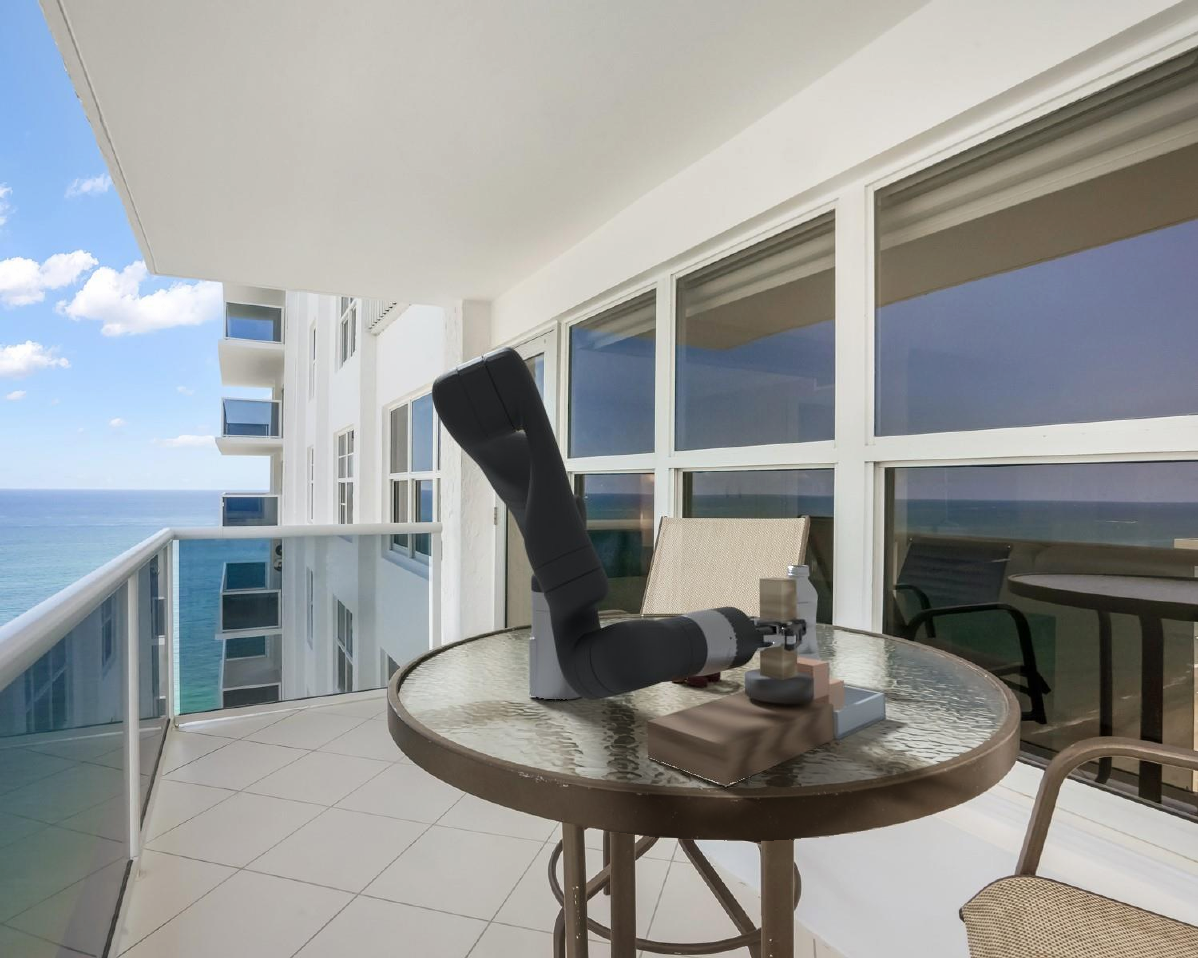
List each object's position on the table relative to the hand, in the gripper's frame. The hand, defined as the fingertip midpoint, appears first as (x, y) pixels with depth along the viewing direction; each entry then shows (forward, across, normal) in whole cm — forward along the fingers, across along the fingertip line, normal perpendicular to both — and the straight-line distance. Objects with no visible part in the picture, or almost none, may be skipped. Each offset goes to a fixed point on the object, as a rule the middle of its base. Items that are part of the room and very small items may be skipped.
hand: (789, 624), depth 92 cm
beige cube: (+6, 0, +11) cm, 12 cm away
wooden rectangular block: (-11, 0, +14) cm, 18 cm away
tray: (+7, 0, +14) cm, 16 cm away
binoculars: (+11, +26, +14) cm, 31 cm away
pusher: (-3, 0, +9) cm, 9 cm away
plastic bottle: (+25, +14, +14) cm, 32 cm away
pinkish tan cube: (+4, 0, +10) cm, 11 cm away
